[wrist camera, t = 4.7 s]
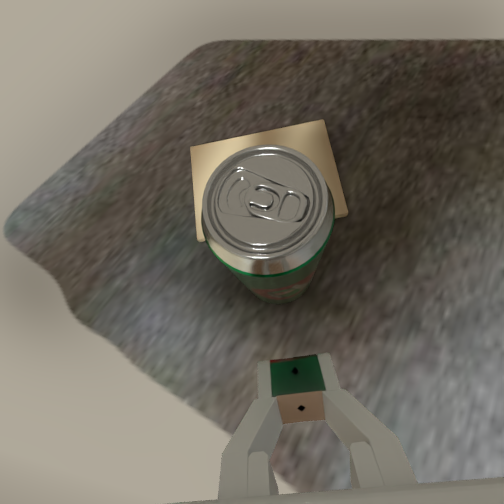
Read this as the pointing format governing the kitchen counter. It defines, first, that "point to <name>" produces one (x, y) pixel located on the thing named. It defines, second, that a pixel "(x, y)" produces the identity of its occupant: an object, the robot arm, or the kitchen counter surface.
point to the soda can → (268, 219)
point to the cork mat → (296, 137)
